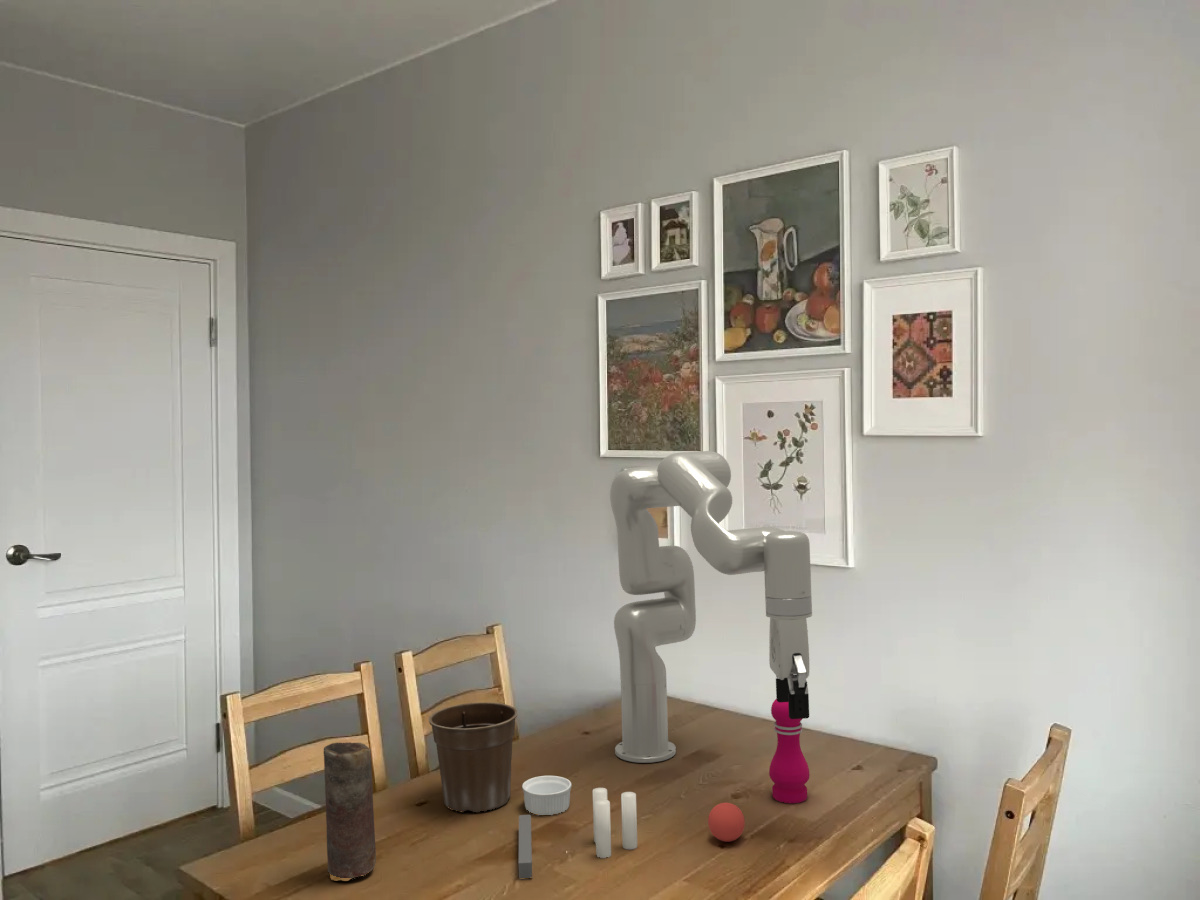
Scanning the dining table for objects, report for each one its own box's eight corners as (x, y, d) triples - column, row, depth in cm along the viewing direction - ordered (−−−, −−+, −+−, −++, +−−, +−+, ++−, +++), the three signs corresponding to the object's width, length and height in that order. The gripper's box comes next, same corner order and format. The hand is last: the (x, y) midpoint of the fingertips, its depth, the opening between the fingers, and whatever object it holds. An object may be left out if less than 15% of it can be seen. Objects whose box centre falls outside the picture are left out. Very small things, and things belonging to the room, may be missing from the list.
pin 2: (595, 852, 156) (594, 799, 156) (610, 851, 157) (609, 799, 156) (596, 858, 154) (595, 805, 154) (611, 857, 154) (610, 804, 154)
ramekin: (579, 801, 178) (578, 777, 178) (561, 820, 170) (560, 796, 169) (534, 796, 181) (533, 773, 181) (514, 815, 172) (514, 791, 172)
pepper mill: (810, 805, 172) (807, 694, 172) (769, 803, 174) (766, 693, 173) (809, 790, 179) (807, 683, 179) (770, 788, 181) (767, 682, 180)
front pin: (622, 843, 159) (620, 792, 159) (636, 842, 160) (635, 791, 159) (623, 849, 157) (622, 798, 157) (638, 848, 157) (636, 797, 157)
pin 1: (593, 838, 161) (592, 788, 161) (607, 837, 162) (606, 787, 161) (594, 844, 159) (593, 793, 159) (609, 844, 159) (607, 792, 159)
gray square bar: (519, 829, 166) (519, 815, 166) (531, 829, 166) (530, 814, 166) (519, 879, 148) (518, 863, 148) (532, 878, 148) (531, 862, 148)
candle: (333, 863, 155) (328, 739, 155) (379, 859, 156) (375, 736, 155) (323, 885, 148) (318, 755, 147) (372, 882, 148) (367, 753, 148)
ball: (705, 833, 162) (704, 797, 162) (740, 831, 163) (739, 795, 162) (712, 849, 156) (711, 812, 156) (749, 846, 157) (748, 810, 157)
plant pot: (413, 803, 179) (410, 716, 178) (481, 777, 191) (478, 696, 190) (470, 826, 168) (467, 734, 167) (538, 798, 179) (535, 711, 179)
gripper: (756, 598, 169) (760, 696, 169) (776, 617, 152) (780, 726, 152) (799, 597, 169) (803, 694, 169) (824, 615, 152) (828, 724, 152)
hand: (792, 709), depth 161 cm, fingers open, 9 cm apart
